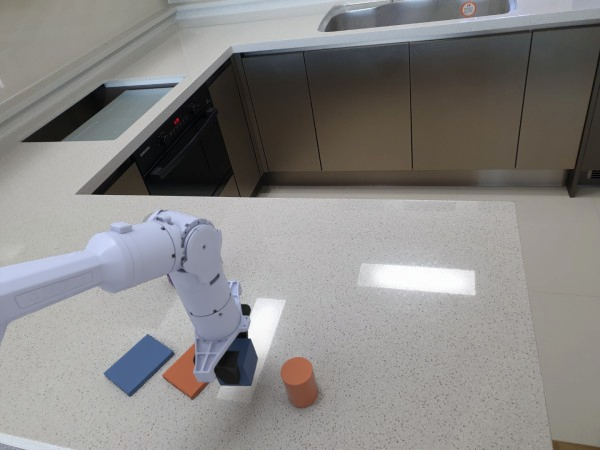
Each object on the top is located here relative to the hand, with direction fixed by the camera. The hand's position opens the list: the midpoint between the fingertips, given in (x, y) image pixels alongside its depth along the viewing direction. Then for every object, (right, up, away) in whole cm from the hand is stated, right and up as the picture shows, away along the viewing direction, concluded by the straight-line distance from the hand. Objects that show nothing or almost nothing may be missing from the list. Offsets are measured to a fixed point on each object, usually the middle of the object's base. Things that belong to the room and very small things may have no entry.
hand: (236, 365), depth 63 cm
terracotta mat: (-7, -3, +9) cm, 12 cm away
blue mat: (-17, -3, +11) cm, 21 cm away
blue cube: (0, -1, +1) cm, 1 cm away
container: (-14, +9, +26) cm, 31 cm away
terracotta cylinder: (+9, -5, +2) cm, 10 cm away
